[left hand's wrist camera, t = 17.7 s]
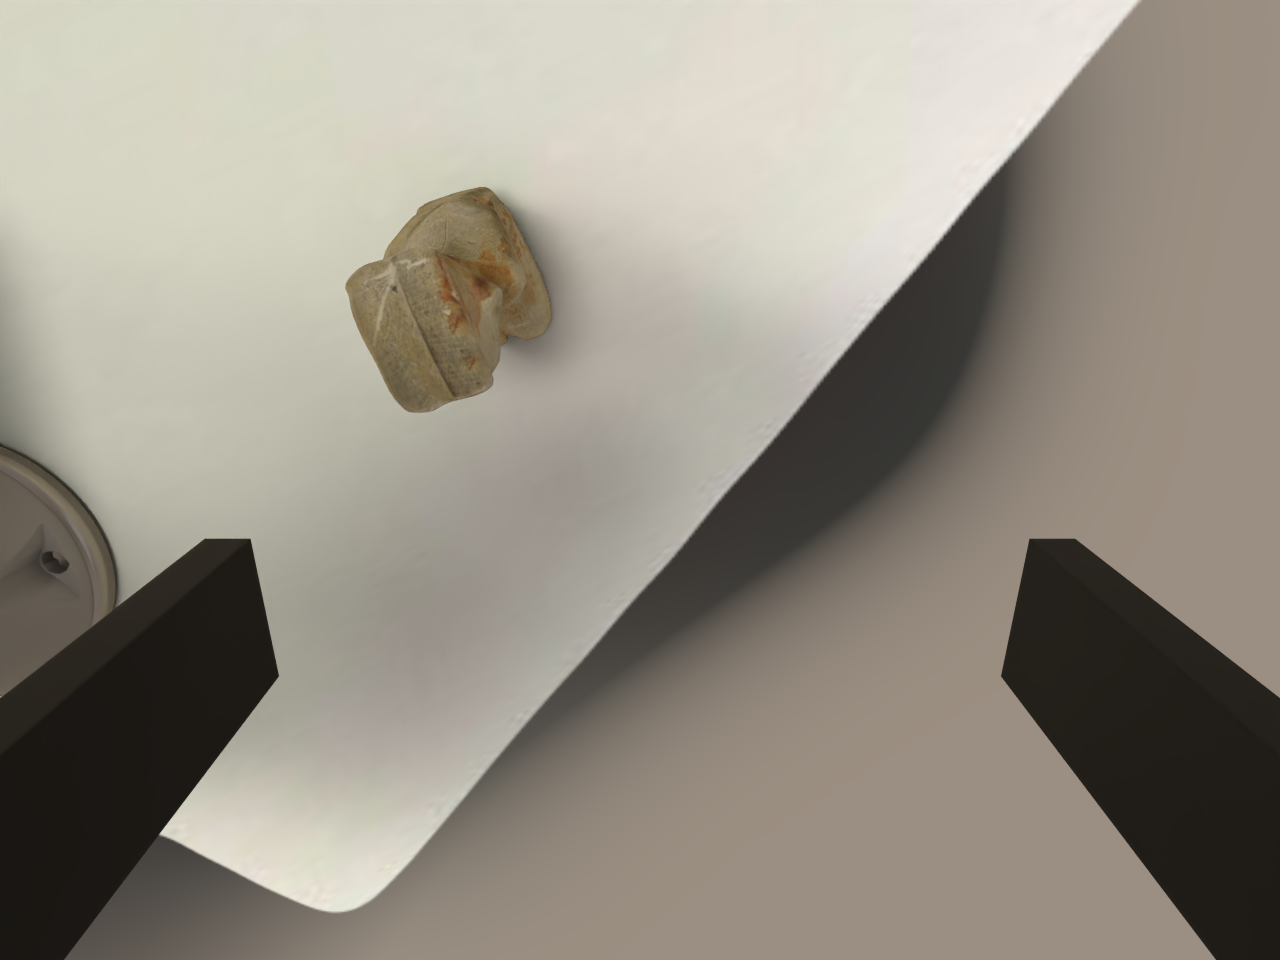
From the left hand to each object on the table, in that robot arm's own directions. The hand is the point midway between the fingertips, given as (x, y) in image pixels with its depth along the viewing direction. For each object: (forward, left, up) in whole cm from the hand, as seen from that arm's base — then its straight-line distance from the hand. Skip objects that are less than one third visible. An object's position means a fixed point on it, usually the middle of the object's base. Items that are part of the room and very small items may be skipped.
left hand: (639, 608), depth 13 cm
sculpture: (-2, +8, -27) cm, 28 cm away
